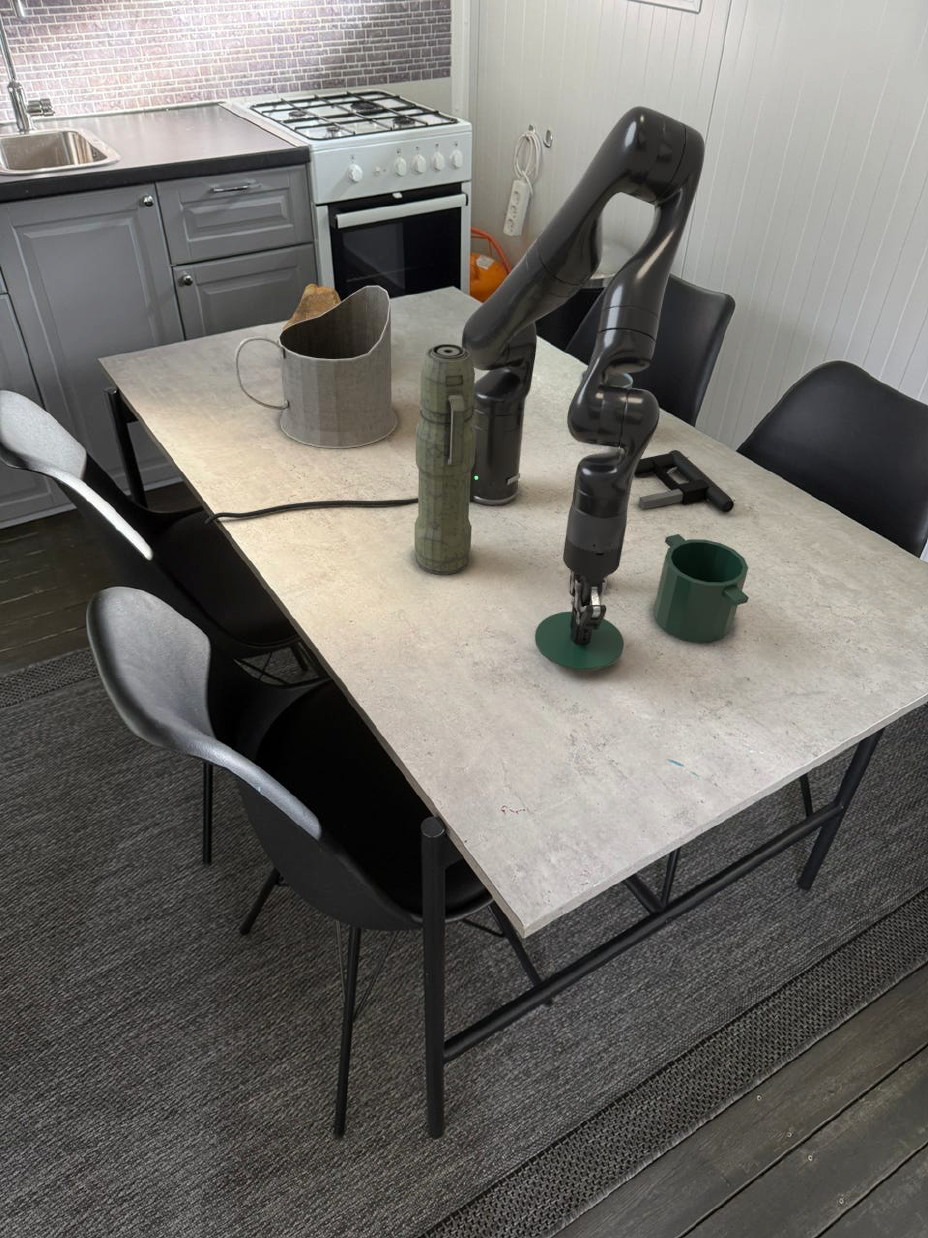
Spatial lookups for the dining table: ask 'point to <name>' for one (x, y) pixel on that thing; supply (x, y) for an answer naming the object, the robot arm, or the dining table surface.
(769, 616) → the dining table surface
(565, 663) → the lid
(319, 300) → the rough brown rock
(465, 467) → the thermos
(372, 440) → the pitcher
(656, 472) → the black staple gun
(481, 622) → the dining table surface
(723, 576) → the pot
